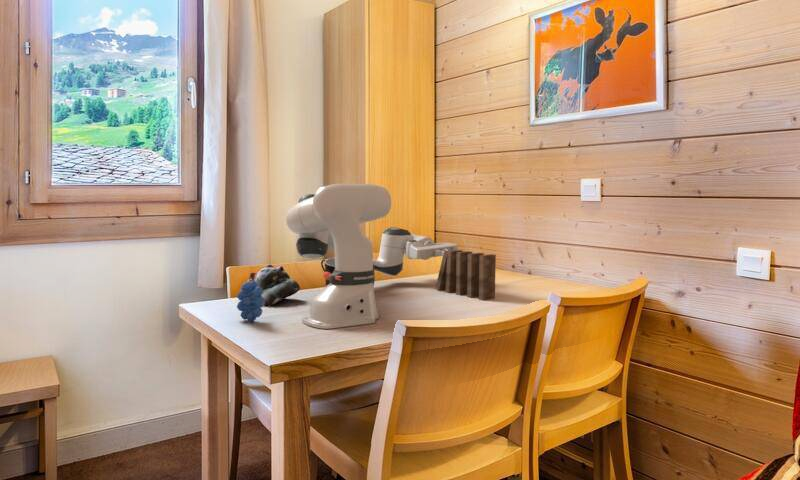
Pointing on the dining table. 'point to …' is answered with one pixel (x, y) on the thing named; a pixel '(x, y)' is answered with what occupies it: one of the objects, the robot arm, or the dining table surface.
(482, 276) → the domino
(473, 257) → the domino
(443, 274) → the domino
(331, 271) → the coffee mug
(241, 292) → the grapes
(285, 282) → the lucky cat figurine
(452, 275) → the domino
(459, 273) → the domino
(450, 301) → the dining table surface
